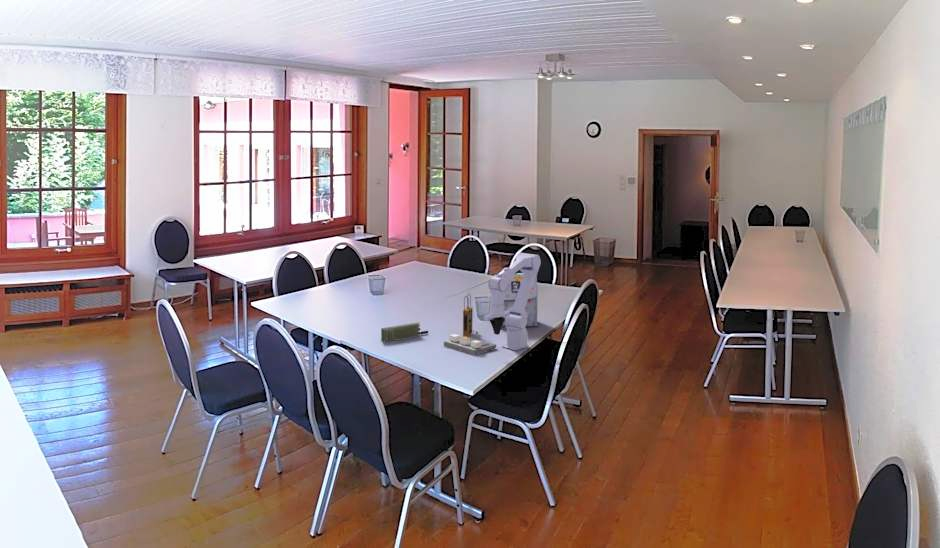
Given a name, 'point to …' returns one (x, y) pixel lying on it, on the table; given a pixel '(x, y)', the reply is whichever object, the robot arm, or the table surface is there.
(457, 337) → the lever
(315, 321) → the table surface
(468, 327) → the multimeter
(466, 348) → the breaker panel
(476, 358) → the table surface
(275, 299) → the table surface
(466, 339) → the lever
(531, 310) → the lunch bag
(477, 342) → the lever
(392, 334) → the handheld radio
